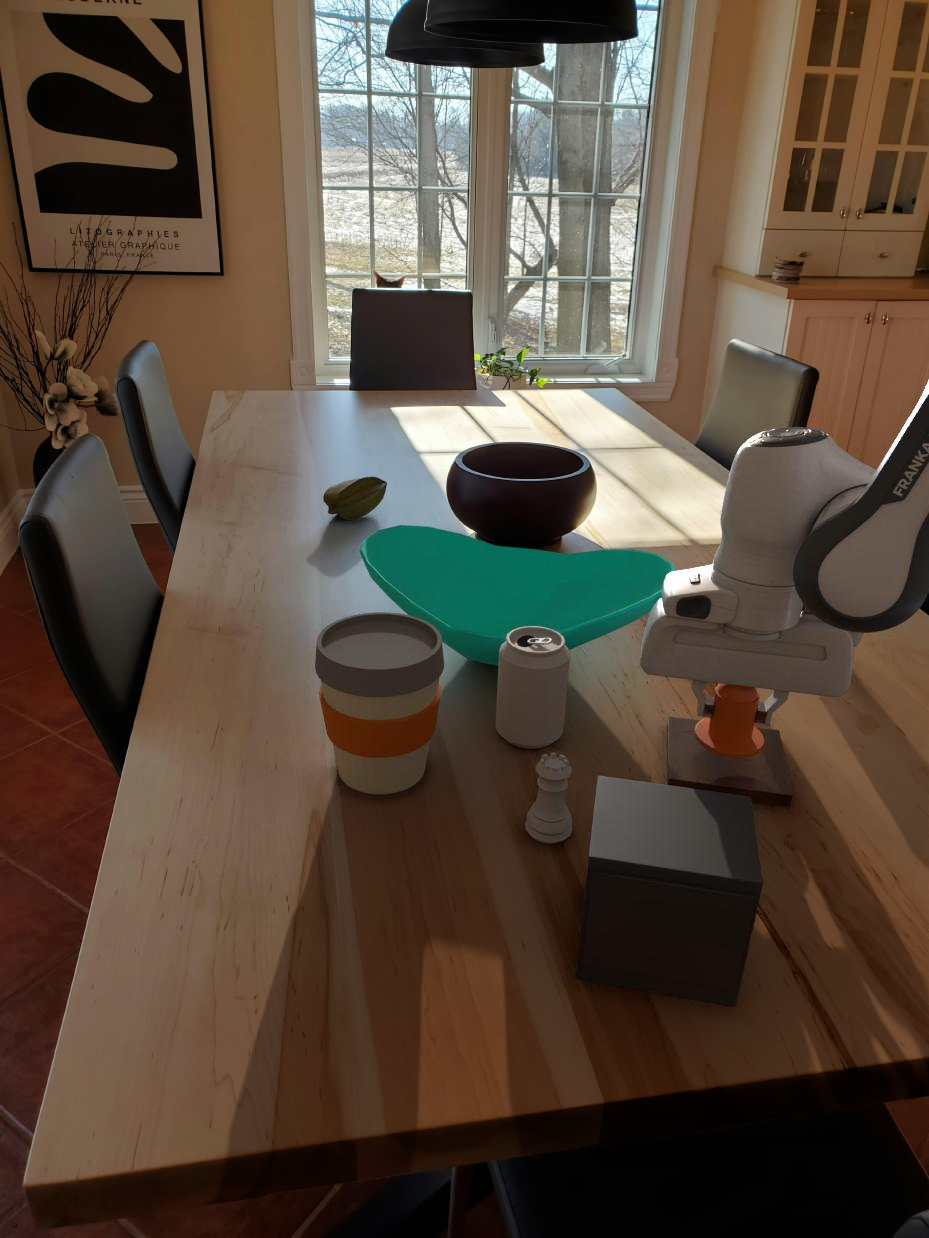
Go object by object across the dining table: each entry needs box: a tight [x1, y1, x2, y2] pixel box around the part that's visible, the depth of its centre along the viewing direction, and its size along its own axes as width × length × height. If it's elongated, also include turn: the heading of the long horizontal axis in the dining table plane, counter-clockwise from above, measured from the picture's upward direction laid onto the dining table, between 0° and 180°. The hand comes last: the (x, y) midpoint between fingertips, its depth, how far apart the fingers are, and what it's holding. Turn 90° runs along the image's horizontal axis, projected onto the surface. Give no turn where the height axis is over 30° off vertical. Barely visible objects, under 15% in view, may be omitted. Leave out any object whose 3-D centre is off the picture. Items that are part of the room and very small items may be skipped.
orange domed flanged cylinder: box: [694, 683, 764, 758], centre depth 92 cm, size 7×7×7 cm
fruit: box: [322, 476, 388, 521], centre depth 161 cm, size 11×12×7 cm
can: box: [495, 626, 571, 750], centre depth 97 cm, size 8×8×12 cm
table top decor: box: [358, 524, 677, 667], centre depth 114 cm, size 40×28×13 cm
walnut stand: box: [666, 715, 794, 808], centre depth 95 cm, size 12×12×2 cm
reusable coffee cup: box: [314, 611, 445, 795], centre depth 90 cm, size 13×13×15 cm
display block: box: [574, 775, 764, 1007], centre depth 70 cm, size 12×10×12 cm
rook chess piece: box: [524, 752, 573, 845], centre depth 83 cm, size 4×4×8 cm
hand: (732, 717), depth 93 cm, fingers closed on orange domed flanged cylinder, 4 cm apart
